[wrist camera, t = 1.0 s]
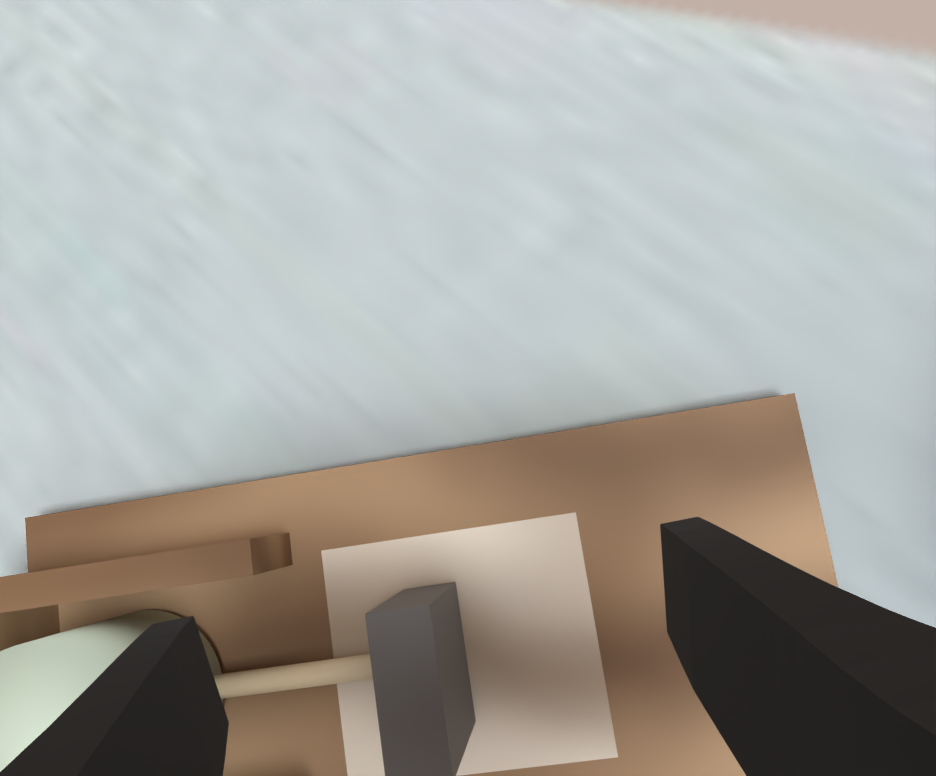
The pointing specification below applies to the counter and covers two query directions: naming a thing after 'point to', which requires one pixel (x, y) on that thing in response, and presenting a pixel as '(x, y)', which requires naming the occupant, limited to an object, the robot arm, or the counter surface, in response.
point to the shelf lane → (444, 561)
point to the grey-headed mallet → (280, 678)
